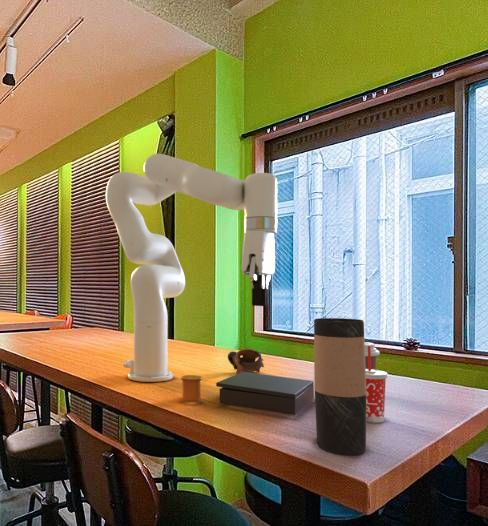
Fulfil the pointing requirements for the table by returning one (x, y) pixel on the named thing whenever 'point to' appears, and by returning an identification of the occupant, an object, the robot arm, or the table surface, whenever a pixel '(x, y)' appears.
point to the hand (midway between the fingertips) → (259, 305)
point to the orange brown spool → (191, 387)
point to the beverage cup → (375, 392)
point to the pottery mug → (246, 360)
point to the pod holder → (266, 400)
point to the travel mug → (340, 385)
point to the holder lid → (266, 384)
